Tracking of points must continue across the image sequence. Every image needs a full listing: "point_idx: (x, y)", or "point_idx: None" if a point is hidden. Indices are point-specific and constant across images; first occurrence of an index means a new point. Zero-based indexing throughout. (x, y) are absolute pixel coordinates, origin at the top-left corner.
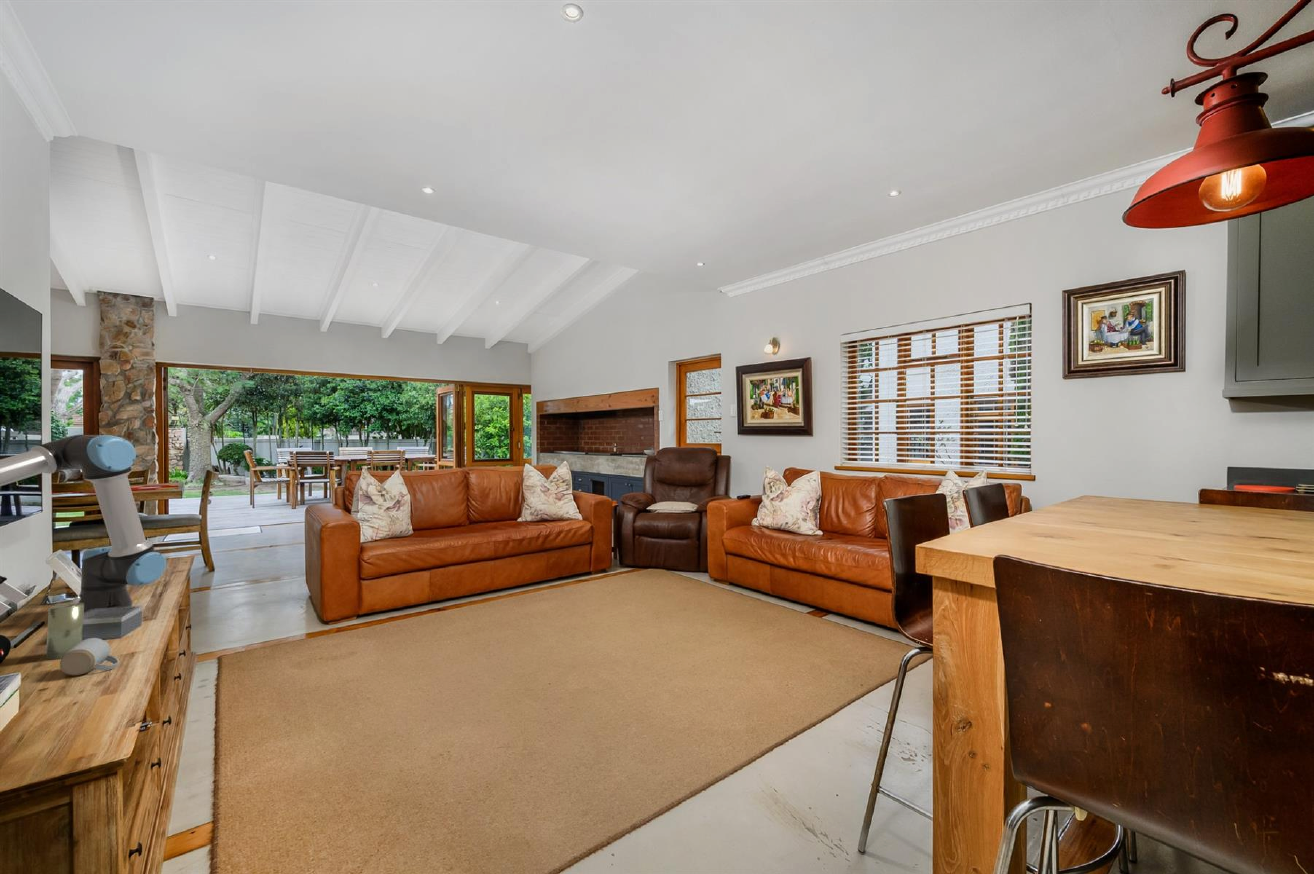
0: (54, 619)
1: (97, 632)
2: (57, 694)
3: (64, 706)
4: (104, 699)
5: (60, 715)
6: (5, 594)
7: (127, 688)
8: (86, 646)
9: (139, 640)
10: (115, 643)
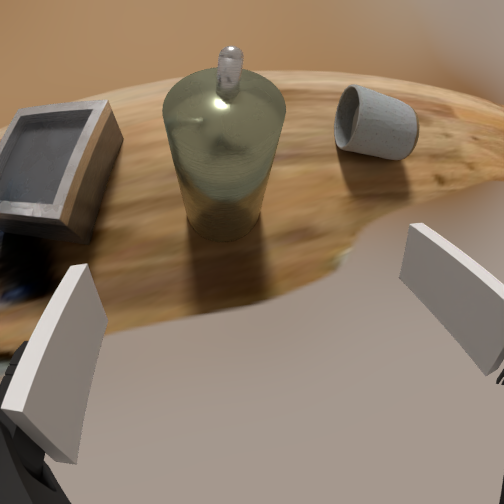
0: (275, 150)
1: (101, 170)
2: (456, 159)
3: (482, 147)
4: (465, 115)
5: (497, 148)
6: (81, 379)
7: (437, 96)
8: (402, 103)
9: None
10: None
